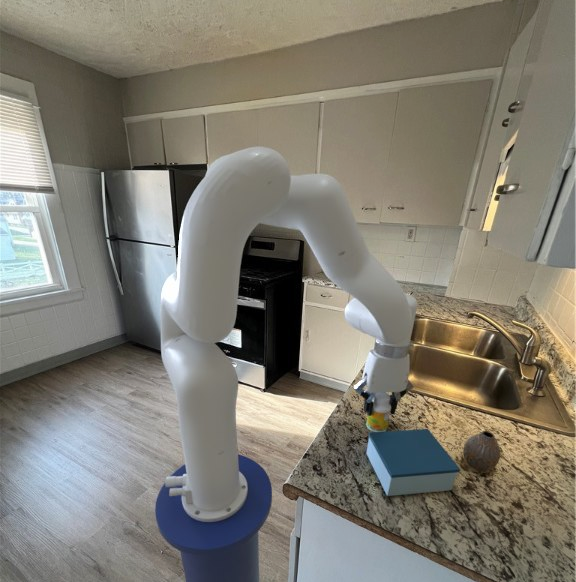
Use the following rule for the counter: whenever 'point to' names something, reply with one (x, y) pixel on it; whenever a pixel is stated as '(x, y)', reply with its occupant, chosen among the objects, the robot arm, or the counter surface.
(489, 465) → the vase
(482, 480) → the counter surface
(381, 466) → the blue two-tone box
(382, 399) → the supplement bottle
